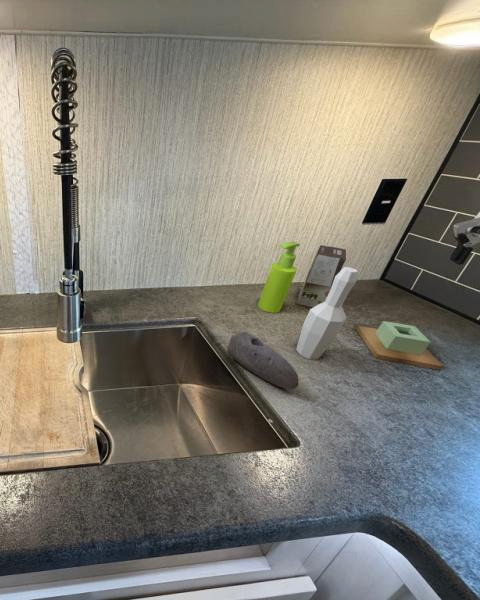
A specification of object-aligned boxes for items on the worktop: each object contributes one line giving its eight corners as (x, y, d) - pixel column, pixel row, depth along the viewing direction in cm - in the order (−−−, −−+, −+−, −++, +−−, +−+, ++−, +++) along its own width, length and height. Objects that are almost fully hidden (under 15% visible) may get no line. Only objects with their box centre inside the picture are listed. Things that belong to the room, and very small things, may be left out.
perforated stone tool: (299, 391, 64) (313, 366, 60) (284, 401, 62) (297, 375, 58) (236, 349, 75) (244, 326, 71) (221, 356, 73) (229, 333, 69)
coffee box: (321, 310, 90) (347, 259, 82) (296, 303, 93) (318, 253, 85) (323, 297, 96) (346, 249, 88) (299, 291, 99) (319, 244, 91)
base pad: (411, 338, 79) (421, 324, 77) (440, 370, 69) (452, 355, 67) (355, 329, 82) (363, 315, 80) (375, 358, 73) (385, 343, 70)
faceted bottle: (306, 342, 77) (346, 261, 66) (330, 359, 72) (378, 274, 61) (286, 347, 76) (323, 265, 64) (309, 364, 71) (354, 278, 59)
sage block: (406, 339, 77) (415, 326, 75) (420, 355, 72) (430, 341, 70) (374, 333, 79) (382, 320, 77) (386, 349, 74) (395, 335, 71)
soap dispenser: (250, 305, 92) (272, 241, 82) (267, 300, 94) (290, 237, 84) (267, 315, 88) (293, 249, 77) (284, 310, 90) (312, 245, 79)
